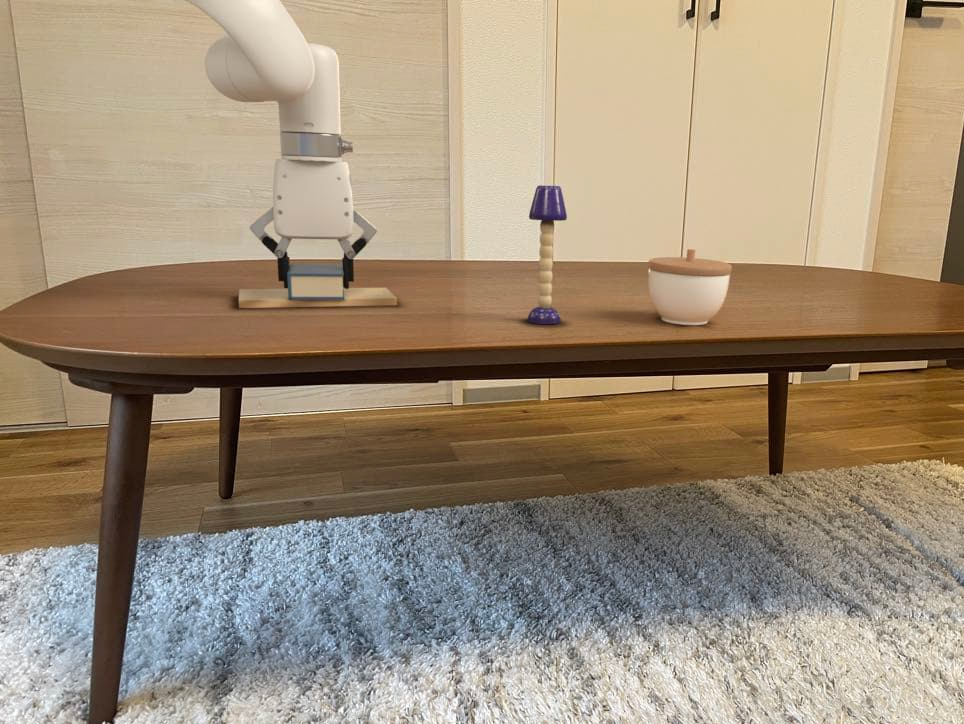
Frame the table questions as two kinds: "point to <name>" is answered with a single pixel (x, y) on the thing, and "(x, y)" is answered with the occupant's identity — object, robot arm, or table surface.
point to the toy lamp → (546, 248)
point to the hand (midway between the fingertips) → (316, 286)
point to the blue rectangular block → (315, 281)
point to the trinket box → (687, 288)
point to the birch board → (280, 299)
